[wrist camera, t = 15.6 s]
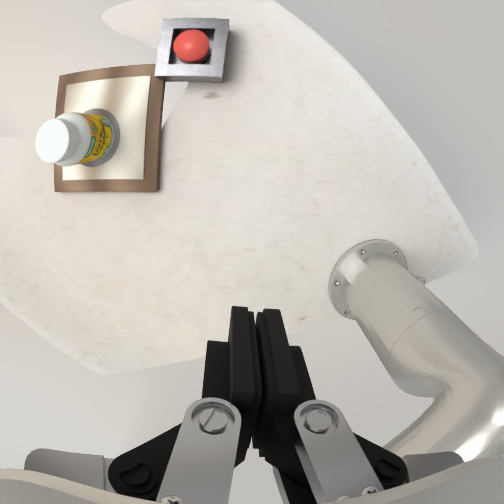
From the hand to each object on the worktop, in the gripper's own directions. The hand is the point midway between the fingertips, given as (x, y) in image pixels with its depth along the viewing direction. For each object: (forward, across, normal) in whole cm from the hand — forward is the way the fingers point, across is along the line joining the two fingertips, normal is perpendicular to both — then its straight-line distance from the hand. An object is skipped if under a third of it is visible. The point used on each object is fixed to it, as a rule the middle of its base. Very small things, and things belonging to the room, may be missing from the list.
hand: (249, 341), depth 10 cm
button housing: (+25, +7, -17) cm, 31 cm away
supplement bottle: (+24, +18, -6) cm, 30 cm away
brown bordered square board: (+25, +17, -8) cm, 31 cm away
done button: (+24, +7, -17) cm, 30 cm away
